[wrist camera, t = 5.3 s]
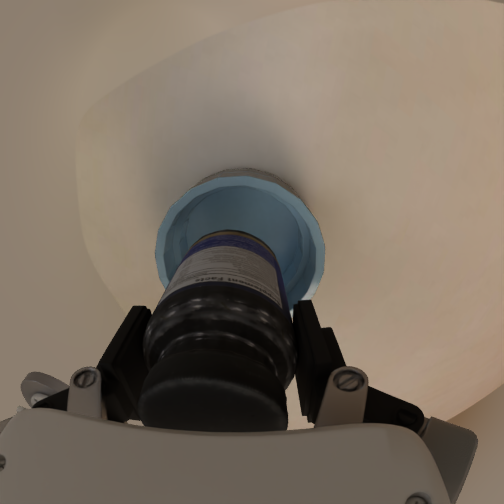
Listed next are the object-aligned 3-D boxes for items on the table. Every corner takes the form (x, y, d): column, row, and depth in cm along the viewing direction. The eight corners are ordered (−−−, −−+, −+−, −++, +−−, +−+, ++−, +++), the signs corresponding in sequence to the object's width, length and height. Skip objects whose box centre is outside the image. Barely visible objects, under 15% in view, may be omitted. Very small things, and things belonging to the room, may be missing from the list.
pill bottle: (256, 327, 19) (259, 477, 9) (171, 295, 18) (110, 436, 8) (297, 249, 17) (353, 393, 7) (201, 209, 16) (125, 323, 6)
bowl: (185, 298, 25) (172, 333, 20) (167, 174, 21) (143, 185, 16) (309, 293, 24) (319, 328, 20) (310, 165, 20) (326, 173, 16)
